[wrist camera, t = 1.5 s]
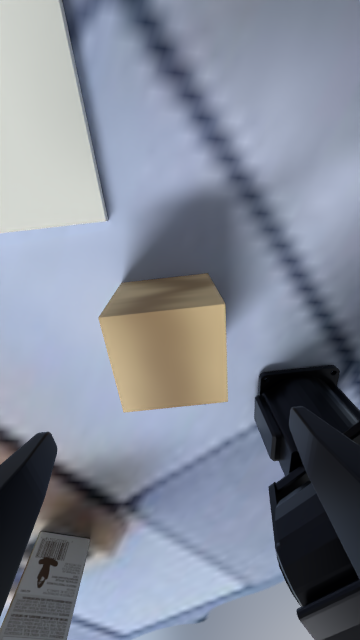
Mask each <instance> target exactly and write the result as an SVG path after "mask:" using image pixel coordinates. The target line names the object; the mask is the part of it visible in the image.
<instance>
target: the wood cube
mask: <svg viewBox="0 0 360 640" xmlns="http://www.w3.org/2000/svg"><path fill="white" fill-rule="evenodd" d="M99 322H100V326H101V329H102V333H103V337H104V341H105V344H106V348H107V352H108V356H109V359H110V363H111V367H112V371H113V374H114V378H115V382H116V385H117V389H118V393H119V397H120V400H121V404H122V408H123V412H133V411H142V410H152V409H162V408H172V407H181V406H191V405H201V404H210V403H220V402H228V390H227V351H226V312H225V303H224V301H223V299H222V297H221V296H220V294H219V292H218V290H217V289H216V287H215V285H214V283H213V281H212V280H211V278H210V276H209V274H208V273H206V274H197V275H188V276H179V277H170V278H160V279H151V280H142V281H133V282H124V283H121V284H120V286H119V287H118V289H117V290H116V292H115V293H114V295H113V296H112V298H111V299H110V301H109V302H108V304H107V306H106V307H105V309H104V310H103V312H102V313H101V315H100V316H99Z"/></svg>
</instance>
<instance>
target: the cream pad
mask: <svg viewBox="0 0 360 640" xmlns="http://www.w3.org/2000/svg"><path fill="white" fill-rule="evenodd" d="M104 221H108V217H107V212H106V207H105V202H104V198H103V193H102V188H101V183H100V179H99V174H98V169H97V164H96V160H95V155H94V150H93V145H92V141H91V136H90V131H89V126H88V121H87V117H86V112H85V107H84V102H83V98H82V93H81V88H80V83H79V79H78V74H77V69H76V64H75V59H74V55H73V50H72V45H71V40H70V36H69V31H68V26H67V21H66V17H65V12H64V7H63V2H62V0H0V233H7V232H15V231H24V230H33V229H42V228H51V227H60V226H69V225H77V224H86V223H95V222H104Z"/></svg>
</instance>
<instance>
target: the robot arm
mask: <svg viewBox="0 0 360 640" xmlns="http://www.w3.org/2000/svg"><path fill="white" fill-rule="evenodd" d="M332 371H333V372H332ZM339 373H340V371H339V369H338V368H337V367H336V366H334V365H328V366H319V367H310V368H300V369H291V370H281V371H272V372H264V373H262V374H260V376H259V386H258V395H257V396H256V397H255V412H254V419H255V422H256V424H257V427H258V430H259V432H260V434H261V437H262V439H263V442H264V444H265V447H266V449H267V452H268V454H269V457H270V458H271V459H272V460H273V461H279V463H280V465H281V468H282V470H283V472H284V475H285V477H283V478H282V479H281V480H279V481H278V482H277V483H276V482H274V483H273V484H271V485H270V486H269V496H270V505H271V513H272V522H273V531H274V540H275V549H276V554H277V559H278V562H279V567H280V569H281V571H282V574H283V576H284V579H285V581H286V583H287V584H288V586H289V589H290V590H291V592H292V594H293V595H294V597H295V598H296V600H297V602H298V603H299V605H300V606H301V607H300V608H298V609H297V615H298V618H299V620H300V621H301V622H302V624H303V625H304V627H305V628H306V629H307V630H308V632H309V633H310V634H311V635H312V637H313V638H314V639H315V640H360V410H359V409H358V408H357V407H356V406H355V405H354V404H353V403H352V402H351V401H350V400H349V399H348V397H347V396H346V395H345V394H344V393H343V392H342V391H341V390H340V389H339V388H338V387H337V382H338V378H339ZM265 378H267V379H265ZM264 379H265V380H264ZM56 455H57V445H56V443H55V441H54V439H53V437H52V434H51V433H50V432H41V433H37V434H36V435H35V436H34V437H32V438H31V439H30V440H29V441H28V442H26V443H25V444H24V445H23V446H22V447H21V448H19V449H18V450H17V451H16V452H15V453H14V454H12V455H11V456H10V457H9V458H8V459H7V460H5V461H4V462H3V463H2V464H1V465H0V616H1V613H2V611H3V608H4V605H5V603H6V600H7V597H8V595H9V592H10V589H11V587H12V584H13V581H14V579H15V576H16V573H17V571H18V568H19V565H20V563H21V560H22V557H23V555H24V552H25V549H26V546H27V544H28V541H29V538H30V536H31V533H32V530H33V528H34V525H35V522H36V520H37V517H38V514H39V512H40V509H41V506H42V504H43V501H44V498H45V495H46V491H47V488H48V484H49V480H50V477H51V473H52V469H53V466H54V462H55V458H56Z"/></svg>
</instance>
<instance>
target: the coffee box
mask: <svg viewBox="0 0 360 640" xmlns="http://www.w3.org/2000/svg"><path fill="white" fill-rule="evenodd" d="M89 544H90V539H88V538H81V537H75V536H68V535H61V534H55V533H48V532H40V533H39V535H38V538H37V540H36V543H35V545H34V548H33V550H32V552H31V555H30V557H29V560H28V562H27V565H26V567H25V569H24V572H23V574H22V577H21V579H20V582H19V584H18V587H17V589H16V591H15V594H14V596H13V599H12V601H11V604H10V606H9V609H8V611H7V614H6V616H5V618H4V621H3V623H2V626H1V628H0V640H67V636H68V632H69V628H70V624H71V619H72V615H73V611H74V607H75V603H76V599H77V595H78V591H79V586H80V582H81V578H82V574H83V570H84V566H85V561H86V557H87V553H88V549H89Z"/></svg>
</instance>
